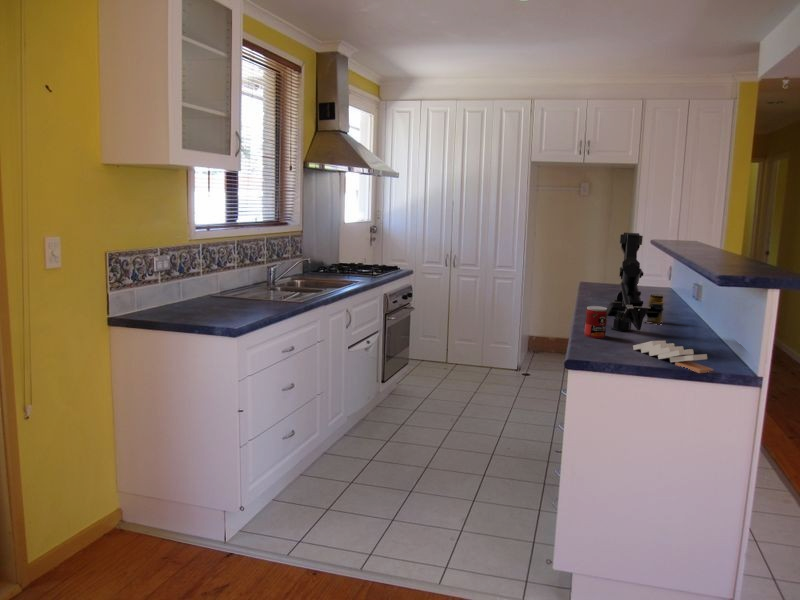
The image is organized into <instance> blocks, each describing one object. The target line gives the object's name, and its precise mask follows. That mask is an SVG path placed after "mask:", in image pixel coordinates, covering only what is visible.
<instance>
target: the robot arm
mask: <svg viewBox="0 0 800 600" xmlns="http://www.w3.org/2000/svg"><path fill="white" fill-rule="evenodd" d="M643 237H644V236H643V235H640V233H639V232H638V233H637V232H623V234H620V235H619V244H621V245H620V249H621V252H622V253H623V261H622V262H621V263H622V264H621V267H619V273H618V274H619V275H618V277H620V280H621V281H620V290H619V292H618V293H617V295H616V296H615V297H616V299H614V300H613V301H610V302H609V304H608V305H607V307H606V308H607V311H606V312H607V317H614V318H613V326H612V327H611V326H610V329H611V330H613V331H618V332H634V331H635V330H634V329H632V325H633V326H634V327H635V329H636V330H637V331H641V329H642V325H643V322H644V321H643V320H644V318H645V317H646V318H647V317H649V318H658V317H659V316H660V314H661V313H662V314H663V311H664V310H665V309H664V305H663V306H662V304H655V303H651V304H650V306H649V307H648V306H643V305H644V301H643V300H642V298H641V295H642V292H641V291H639V290H640V289H639V286H638V285H639V283H640V279H642V277H644V272H643V270H642V268H641V263H640V262H639V261H638V259H637V258H638V251H639V250H640V247H641V246H642V245H643Z"/></svg>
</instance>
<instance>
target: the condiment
mask: <svg viewBox="0 0 800 600" xmlns="http://www.w3.org/2000/svg"><path fill="white" fill-rule="evenodd" d="M651 303H655V304H662V306H663V307H664V296H663V295H661V294H650V295H649V300H648V301H647V304H648V305H647V307H649V306H650V304H651ZM662 317H663V312H662V313H661V314H660V316H659V317H658V318H649V317H647V316H646V320H647V322H652V323H661V322H662V319H663V318H662ZM662 325H663V323H662V324H660V325H659V326H662Z"/></svg>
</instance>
